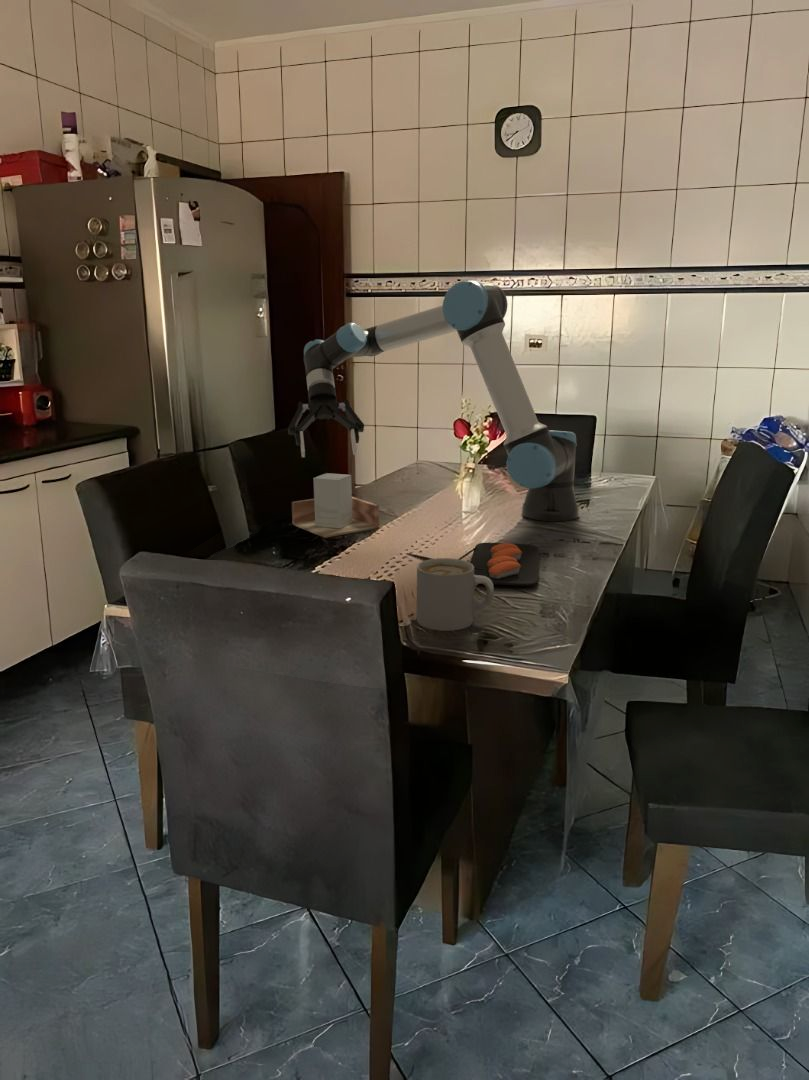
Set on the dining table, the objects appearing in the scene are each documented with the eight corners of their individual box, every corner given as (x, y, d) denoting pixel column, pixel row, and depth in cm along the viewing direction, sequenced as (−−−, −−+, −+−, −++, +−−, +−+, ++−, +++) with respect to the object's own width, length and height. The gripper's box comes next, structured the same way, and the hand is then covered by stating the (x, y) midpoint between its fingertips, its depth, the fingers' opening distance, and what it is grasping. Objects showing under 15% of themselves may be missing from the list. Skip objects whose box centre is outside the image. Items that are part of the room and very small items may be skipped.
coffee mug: (411, 628, 138) (411, 572, 136) (422, 608, 148) (423, 556, 145) (488, 634, 135) (490, 578, 133) (495, 614, 145) (497, 561, 142)
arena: (378, 528, 204) (378, 505, 202) (324, 537, 195) (324, 513, 193) (344, 515, 216) (344, 494, 214) (292, 524, 207) (291, 501, 205)
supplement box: (353, 522, 206) (352, 474, 203) (339, 529, 200) (338, 479, 196) (328, 520, 209) (326, 472, 206) (313, 526, 203) (312, 477, 199)
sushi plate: (538, 593, 157) (539, 575, 156) (387, 585, 162) (387, 567, 161) (539, 552, 185) (539, 536, 184) (410, 546, 190) (410, 530, 188)
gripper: (365, 397, 226) (374, 459, 216) (275, 400, 221) (281, 463, 211) (367, 379, 219) (377, 442, 209) (275, 382, 215) (281, 446, 205)
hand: (329, 453), depth 210 cm, fingers open, 13 cm apart
